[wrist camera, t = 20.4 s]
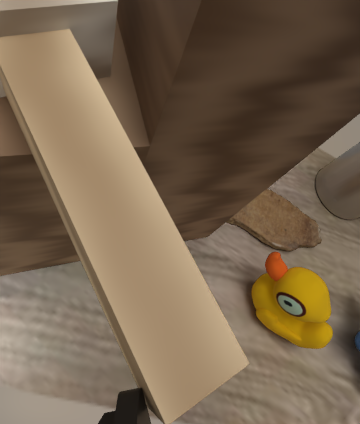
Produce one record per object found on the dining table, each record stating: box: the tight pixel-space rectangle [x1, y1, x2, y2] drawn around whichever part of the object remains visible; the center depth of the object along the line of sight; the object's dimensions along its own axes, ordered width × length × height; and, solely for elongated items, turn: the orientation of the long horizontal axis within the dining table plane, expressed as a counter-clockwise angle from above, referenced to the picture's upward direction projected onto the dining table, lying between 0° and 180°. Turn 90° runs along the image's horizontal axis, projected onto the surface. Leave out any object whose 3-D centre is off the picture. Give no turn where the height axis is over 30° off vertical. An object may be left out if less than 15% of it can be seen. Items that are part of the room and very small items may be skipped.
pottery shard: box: [226, 189, 322, 251], centre depth 42 cm, size 8×16×2 cm, turn 64°
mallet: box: [0, 0, 250, 424], centre depth 12 cm, size 7×20×4 cm, turn 28°
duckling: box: [252, 252, 333, 349], centre depth 33 cm, size 11×5×10 cm, turn 42°
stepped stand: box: [0, 0, 360, 276], centre depth 22 cm, size 24×11×32 cm, turn 104°
